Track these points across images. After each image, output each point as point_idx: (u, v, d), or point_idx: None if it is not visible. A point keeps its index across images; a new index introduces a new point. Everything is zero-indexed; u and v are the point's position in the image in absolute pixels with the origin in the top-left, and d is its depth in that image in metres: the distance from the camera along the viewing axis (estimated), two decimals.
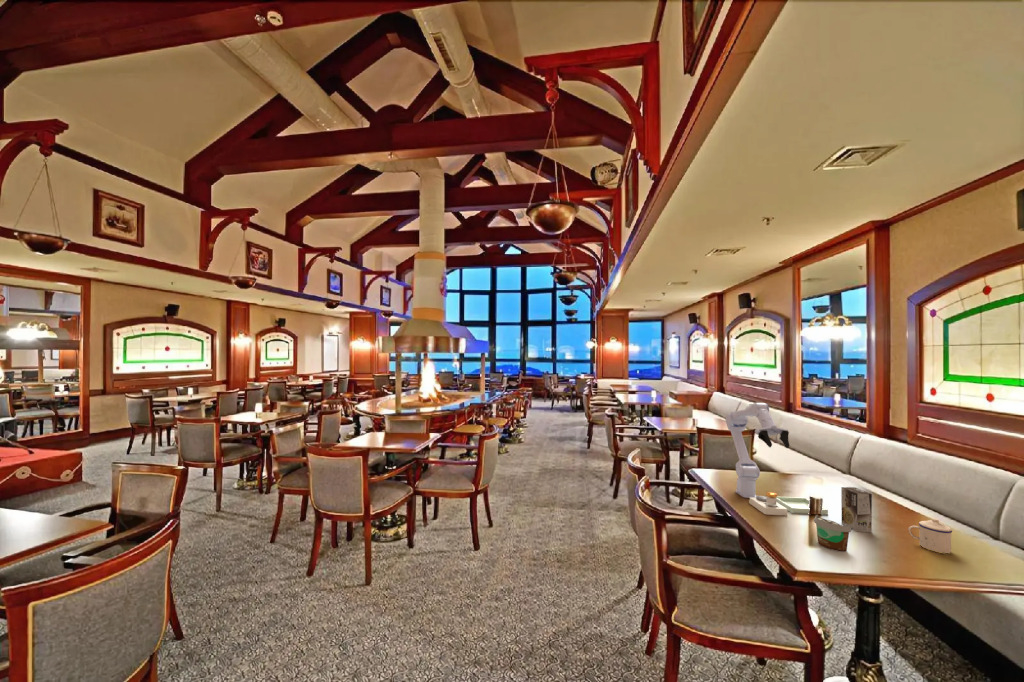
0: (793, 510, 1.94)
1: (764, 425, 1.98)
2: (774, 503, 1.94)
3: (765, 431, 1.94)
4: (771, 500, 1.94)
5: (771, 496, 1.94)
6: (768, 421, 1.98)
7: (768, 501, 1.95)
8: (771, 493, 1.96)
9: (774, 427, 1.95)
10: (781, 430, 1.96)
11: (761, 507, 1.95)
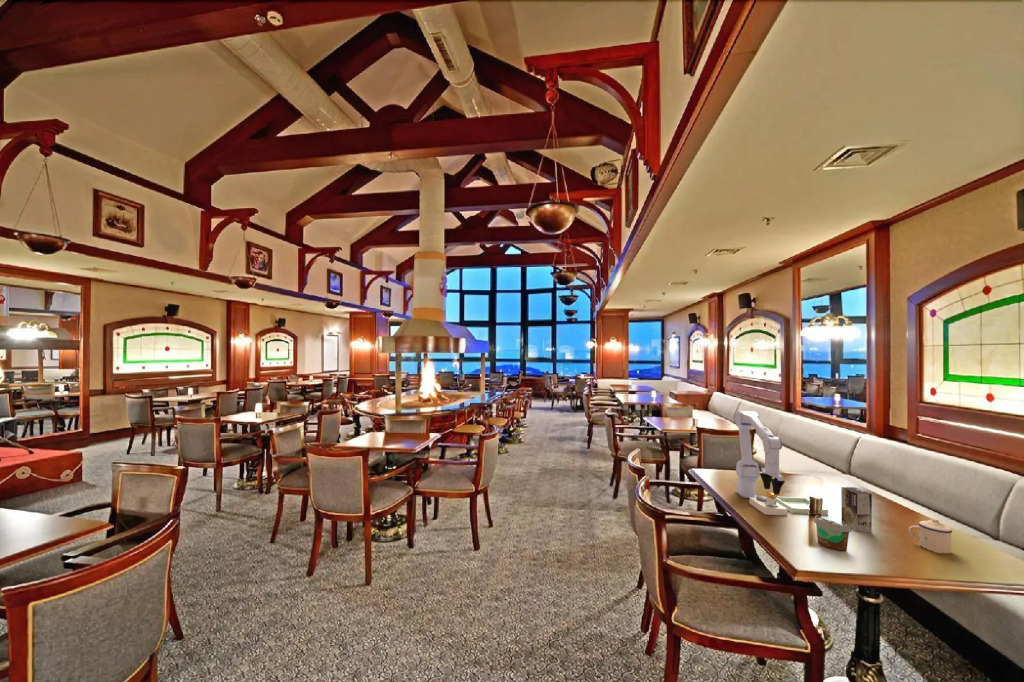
0: (793, 510, 1.94)
1: None
2: (774, 503, 1.94)
3: (760, 475, 2.00)
4: (771, 500, 1.94)
5: (771, 496, 1.94)
6: (765, 464, 1.97)
7: (768, 501, 1.95)
8: (771, 493, 1.96)
9: None
10: None
11: (761, 507, 1.95)
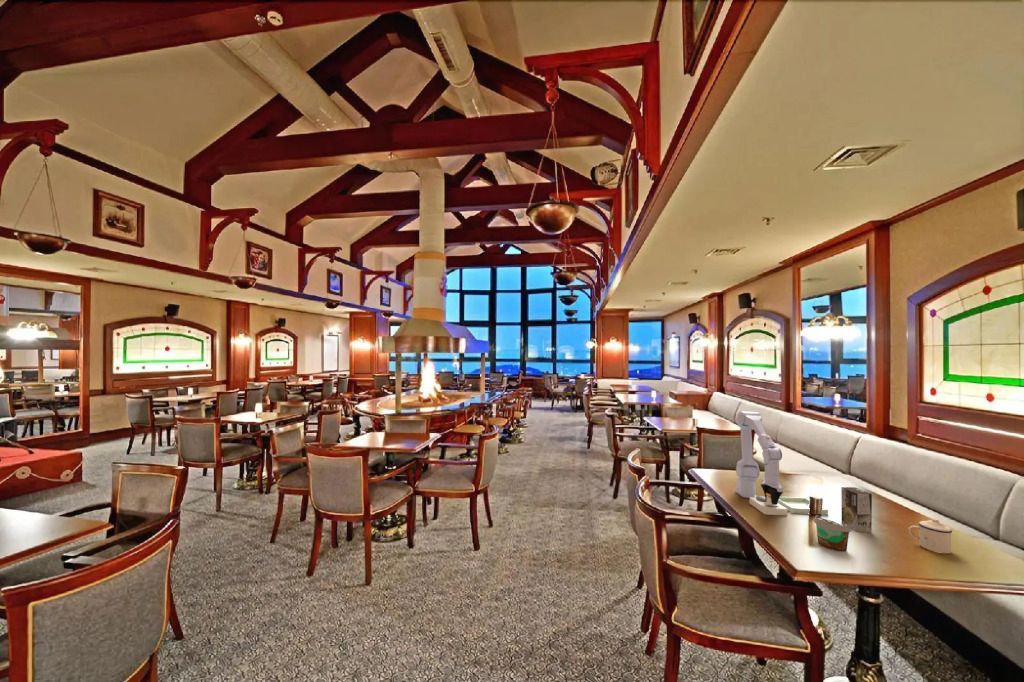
0: (793, 510, 1.94)
1: None
2: None
3: (762, 486, 1.99)
4: None
5: None
6: None
7: (768, 501, 1.95)
8: None
9: None
10: (774, 487, 1.92)
11: (761, 507, 1.95)
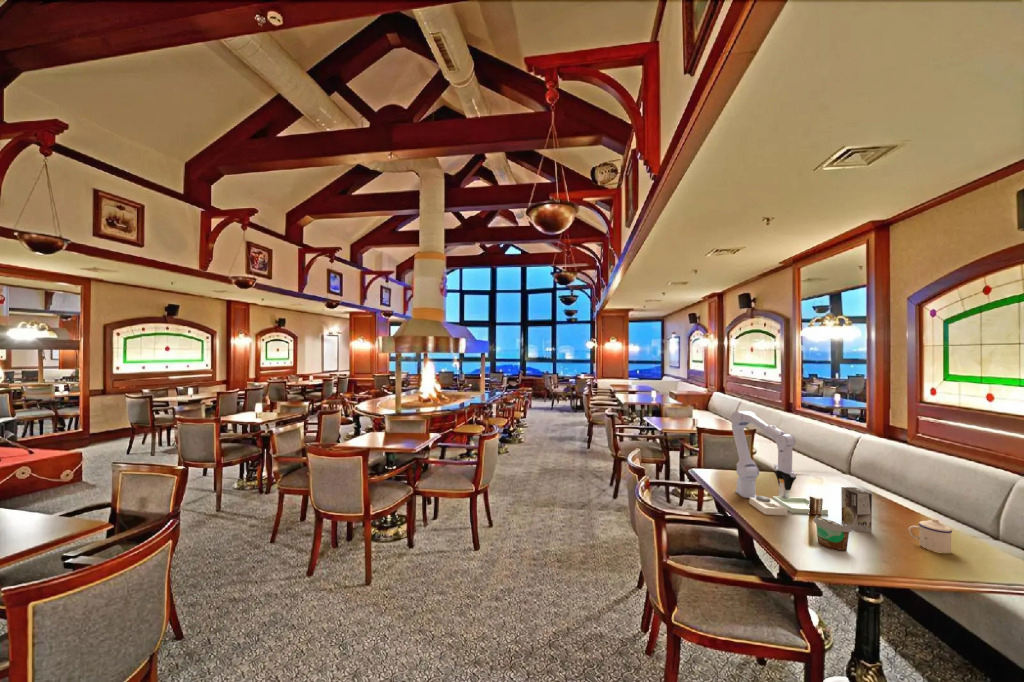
0: (793, 510, 1.94)
1: None
2: None
3: (775, 472, 2.02)
4: (784, 486, 1.97)
5: None
6: (778, 461, 2.00)
7: (781, 487, 1.98)
8: None
9: None
10: (787, 472, 1.95)
11: (761, 507, 1.95)
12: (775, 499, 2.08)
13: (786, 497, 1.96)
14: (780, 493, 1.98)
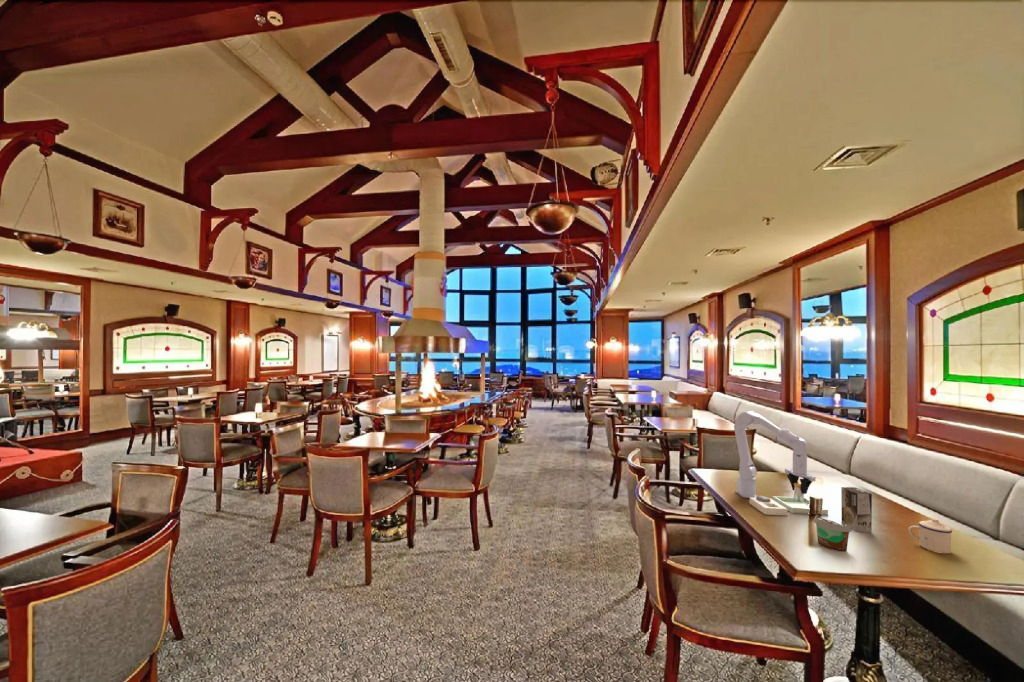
0: (793, 510, 1.94)
1: None
2: None
3: (789, 477, 2.04)
4: (801, 490, 2.00)
5: (801, 486, 1.99)
6: (793, 466, 2.02)
7: (797, 491, 2.00)
8: (799, 483, 2.02)
9: (795, 474, 2.01)
10: (805, 477, 1.98)
11: (761, 507, 1.95)
12: (775, 499, 2.08)
13: (802, 501, 1.99)
14: (796, 497, 2.00)
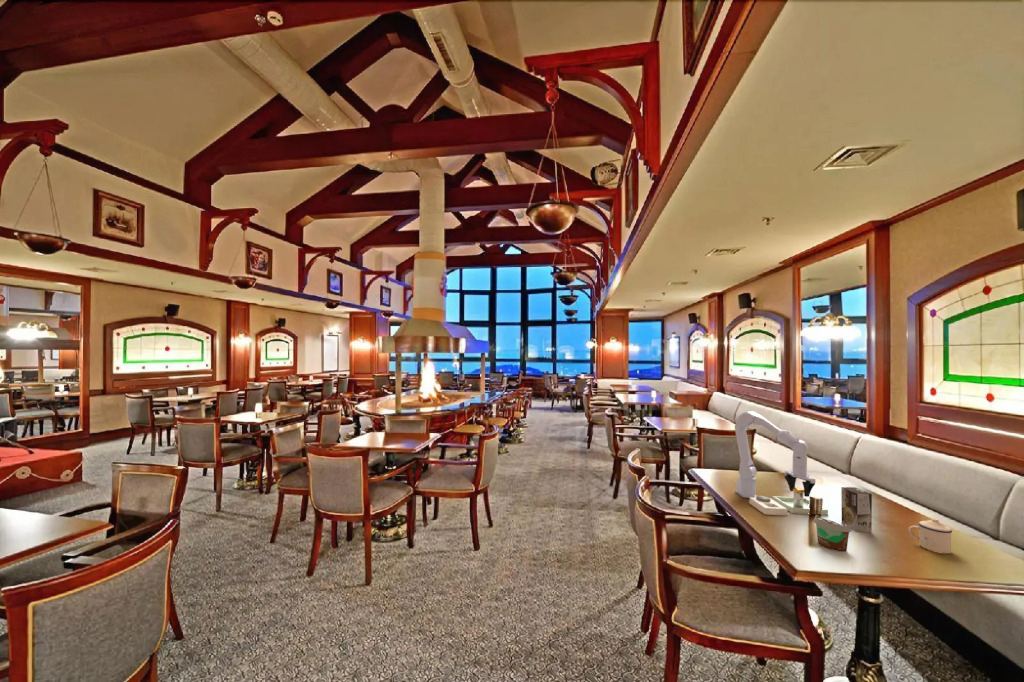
0: (793, 510, 1.94)
1: None
2: (802, 498, 1.99)
3: (786, 478, 2.05)
4: (800, 496, 1.99)
5: (800, 492, 1.99)
6: (793, 468, 2.02)
7: (797, 497, 2.00)
8: (798, 489, 2.02)
9: (795, 476, 2.01)
10: (805, 478, 1.98)
11: (761, 507, 1.95)
12: (775, 499, 2.08)
13: (802, 506, 1.99)
14: (796, 503, 2.00)
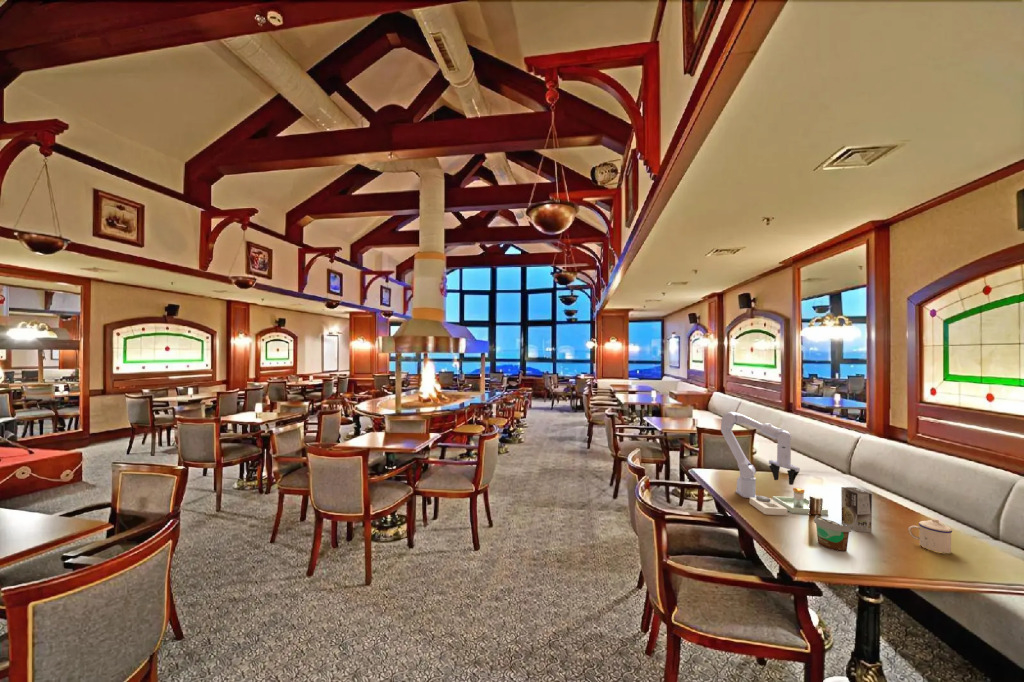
0: (793, 510, 1.94)
1: None
2: (802, 498, 1.99)
3: (771, 467, 2.11)
4: (800, 496, 1.99)
5: (800, 492, 1.99)
6: (778, 457, 2.08)
7: (797, 497, 2.00)
8: (798, 489, 2.01)
9: (780, 465, 2.07)
10: (790, 467, 2.04)
11: (761, 507, 1.95)
12: (775, 499, 2.08)
13: (802, 507, 1.99)
14: (796, 503, 2.00)
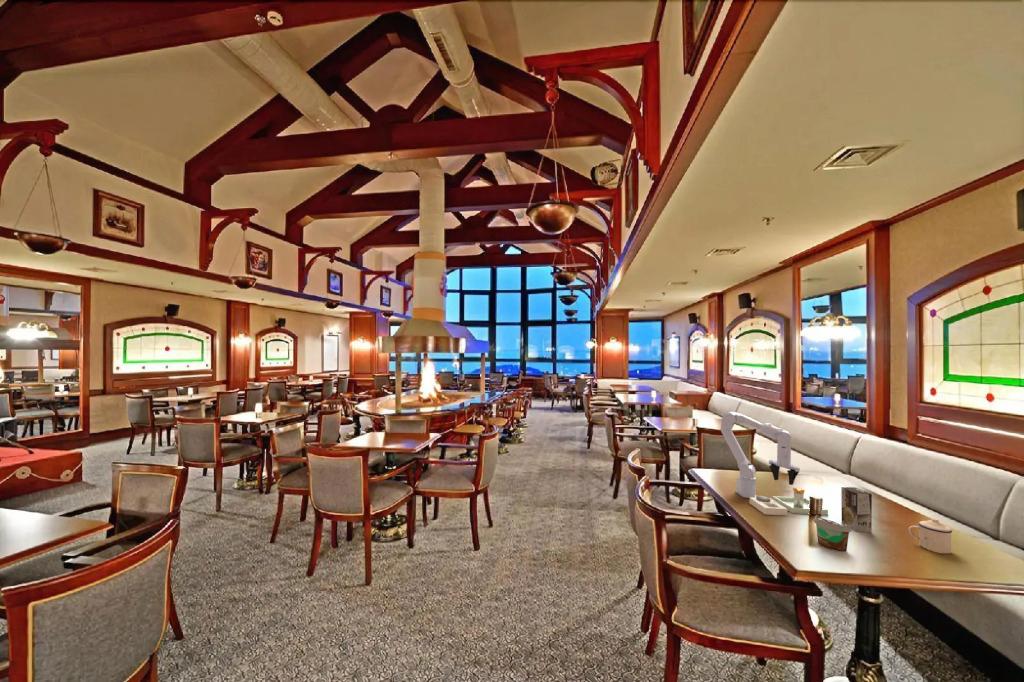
0: (793, 510, 1.94)
1: None
2: (802, 498, 1.99)
3: (771, 467, 2.11)
4: (800, 496, 1.99)
5: (800, 492, 1.99)
6: (778, 457, 2.08)
7: (797, 497, 2.00)
8: (798, 489, 2.01)
9: (780, 465, 2.07)
10: (790, 467, 2.04)
11: (761, 507, 1.95)
12: (775, 499, 2.08)
13: (802, 507, 1.99)
14: (796, 503, 2.00)
